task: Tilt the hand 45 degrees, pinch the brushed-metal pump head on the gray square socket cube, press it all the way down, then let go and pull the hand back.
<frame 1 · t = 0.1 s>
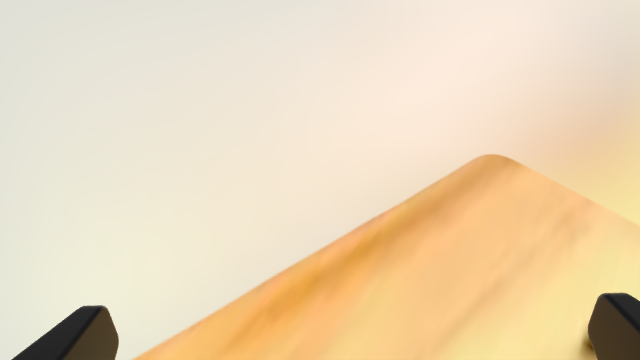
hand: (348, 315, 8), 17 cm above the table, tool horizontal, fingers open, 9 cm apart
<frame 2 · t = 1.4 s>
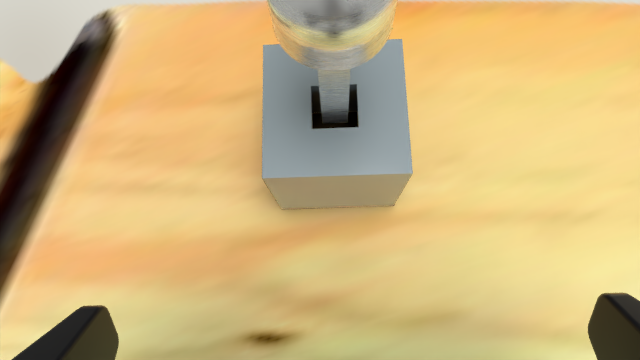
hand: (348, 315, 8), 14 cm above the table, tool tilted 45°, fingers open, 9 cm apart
pump head: (332, 24, 14), point 10 cm above the table, slide at 0.0 cm
gray square socket cube: (335, 154, 24), on the table
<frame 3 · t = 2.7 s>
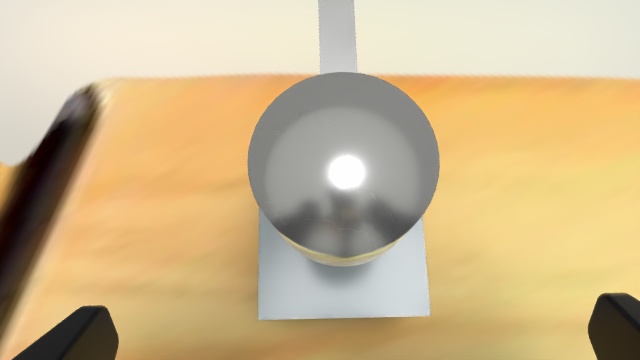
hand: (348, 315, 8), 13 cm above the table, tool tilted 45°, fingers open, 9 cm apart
pump head: (339, 170, 12), point 10 cm above the table, slide at 0.0 cm
gray square socket cube: (340, 251, 21), on the table
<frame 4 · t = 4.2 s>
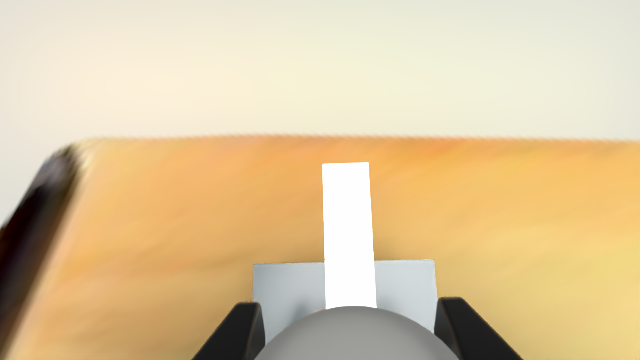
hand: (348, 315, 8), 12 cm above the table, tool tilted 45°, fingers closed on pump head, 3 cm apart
pump head: (347, 328, 10), point 10 cm above the table, slide at 0.0 cm, touching gripper
gray square socket cube: (344, 340, 19), on the table
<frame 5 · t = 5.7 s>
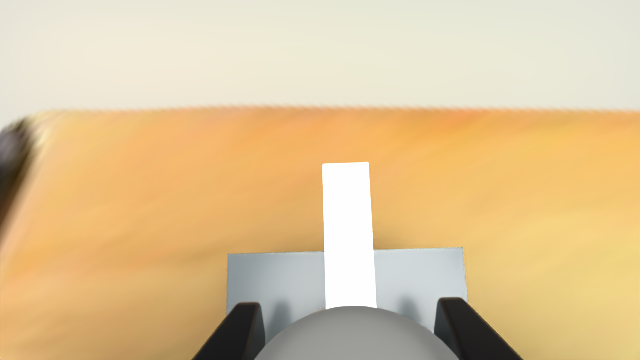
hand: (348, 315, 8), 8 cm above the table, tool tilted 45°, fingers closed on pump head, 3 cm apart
pump head: (347, 328, 10), point 6 cm above the table, slide at 3.4 cm, touching gripper
gray square socket cube: (345, 348, 16), on the table
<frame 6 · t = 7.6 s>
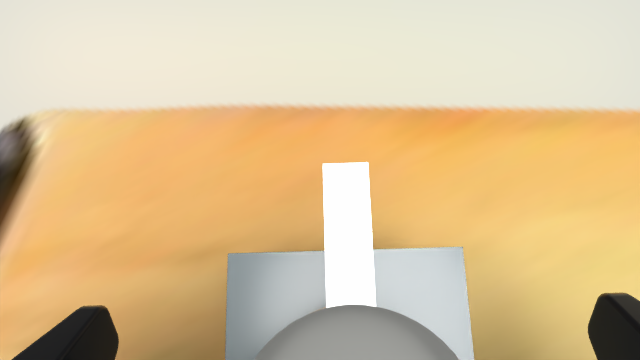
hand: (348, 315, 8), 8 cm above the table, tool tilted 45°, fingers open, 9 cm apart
pump head: (347, 328, 10), point 6 cm above the table, slide at 3.4 cm
gray square socket cube: (345, 348, 16), on the table
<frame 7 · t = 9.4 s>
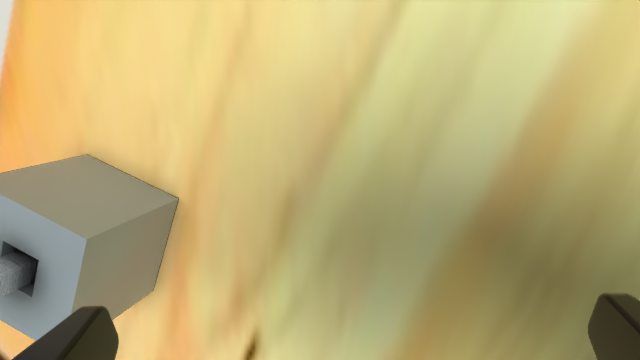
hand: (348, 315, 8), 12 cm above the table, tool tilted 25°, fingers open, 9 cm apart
gray square socket cube: (120, 223, 24), on the table
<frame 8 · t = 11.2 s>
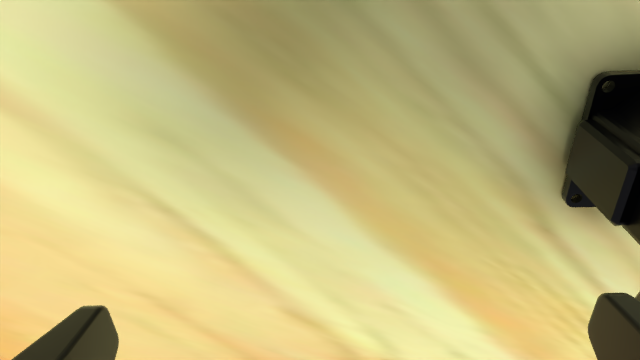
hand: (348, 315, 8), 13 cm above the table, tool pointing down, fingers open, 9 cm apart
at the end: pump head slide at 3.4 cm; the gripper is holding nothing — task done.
